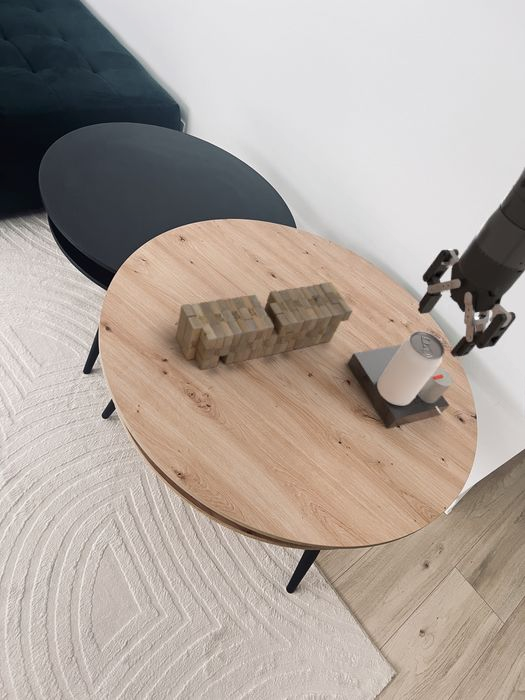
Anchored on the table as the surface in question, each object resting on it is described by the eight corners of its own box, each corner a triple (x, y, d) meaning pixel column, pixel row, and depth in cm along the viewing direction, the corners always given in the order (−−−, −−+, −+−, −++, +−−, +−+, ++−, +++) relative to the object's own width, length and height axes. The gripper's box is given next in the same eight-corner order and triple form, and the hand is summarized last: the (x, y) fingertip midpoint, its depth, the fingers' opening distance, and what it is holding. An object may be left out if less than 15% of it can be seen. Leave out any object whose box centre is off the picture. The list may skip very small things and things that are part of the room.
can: (375, 401, 87) (408, 353, 78) (376, 371, 91) (406, 324, 83) (412, 411, 87) (449, 366, 79) (411, 382, 92) (445, 335, 83)
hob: (448, 418, 93) (458, 408, 91) (391, 434, 87) (399, 424, 85) (402, 353, 101) (410, 342, 99) (347, 363, 95) (354, 352, 93)
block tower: (191, 375, 85) (338, 341, 98) (199, 341, 79) (355, 309, 92) (174, 338, 89) (317, 310, 102) (180, 303, 83) (333, 278, 96)
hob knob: (428, 382, 93) (444, 363, 89) (442, 400, 91) (458, 382, 87) (411, 387, 91) (427, 368, 88) (425, 405, 89) (441, 387, 86)
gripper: (450, 212, 69) (394, 301, 81) (521, 288, 62) (448, 374, 73) (489, 211, 73) (430, 296, 84) (561, 283, 65) (486, 365, 77)
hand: (439, 332), depth 79 cm, fingers open, 8 cm apart
